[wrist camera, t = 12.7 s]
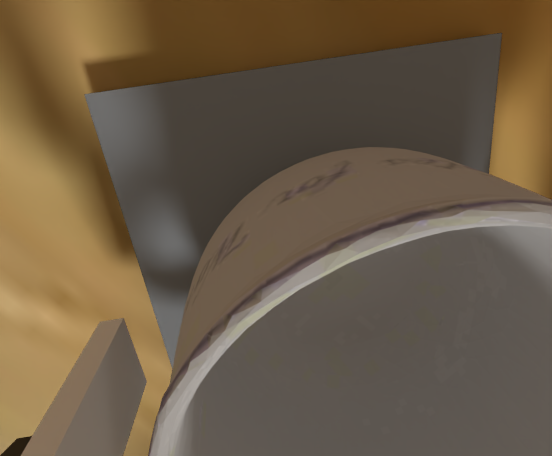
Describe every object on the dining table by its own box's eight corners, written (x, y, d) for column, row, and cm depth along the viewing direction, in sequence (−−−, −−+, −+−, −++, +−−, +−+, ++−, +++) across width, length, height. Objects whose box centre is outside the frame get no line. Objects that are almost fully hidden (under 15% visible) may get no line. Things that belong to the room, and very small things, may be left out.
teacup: (431, 68, 12) (763, 48, 4) (502, 316, 16) (735, 531, 8) (65, 255, 13) (-176, 490, 6) (217, 438, 17) (195, 714, 10)
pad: (200, 435, 18) (198, 450, 17) (94, 93, 12) (84, 94, 11) (457, 392, 18) (467, 405, 17) (486, 35, 12) (501, 32, 11)
